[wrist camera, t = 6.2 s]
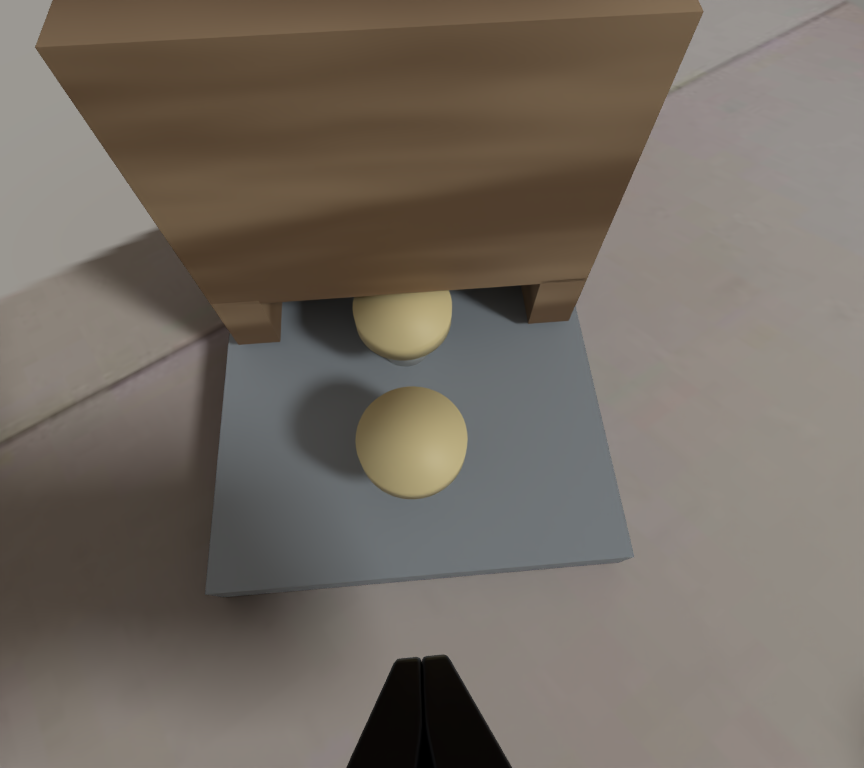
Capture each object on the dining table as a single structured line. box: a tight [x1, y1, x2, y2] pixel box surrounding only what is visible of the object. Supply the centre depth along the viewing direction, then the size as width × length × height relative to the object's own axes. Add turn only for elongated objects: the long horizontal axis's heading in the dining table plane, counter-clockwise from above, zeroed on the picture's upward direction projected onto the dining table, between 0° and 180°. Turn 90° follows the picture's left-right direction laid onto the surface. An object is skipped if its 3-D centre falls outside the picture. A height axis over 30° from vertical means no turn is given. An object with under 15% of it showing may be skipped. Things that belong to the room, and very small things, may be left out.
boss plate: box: [205, 285, 634, 597], centre depth 17 cm, size 13×13×6 cm
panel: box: [35, 0, 703, 345], centre depth 15 cm, size 3×12×11 cm, turn 95°
